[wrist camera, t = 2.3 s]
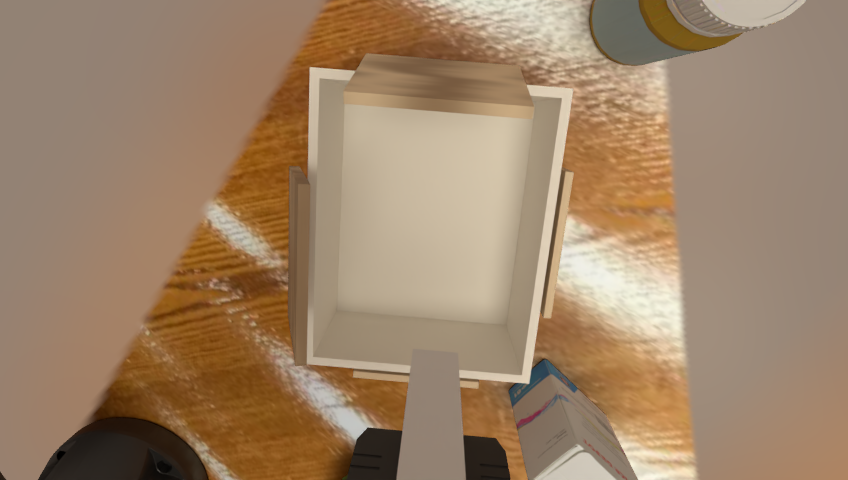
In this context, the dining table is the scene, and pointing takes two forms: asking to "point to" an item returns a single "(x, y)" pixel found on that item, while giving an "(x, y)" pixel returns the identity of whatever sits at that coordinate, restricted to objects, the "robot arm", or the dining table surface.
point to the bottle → (677, 25)
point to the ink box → (564, 431)
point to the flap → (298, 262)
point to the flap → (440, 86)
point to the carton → (432, 233)
